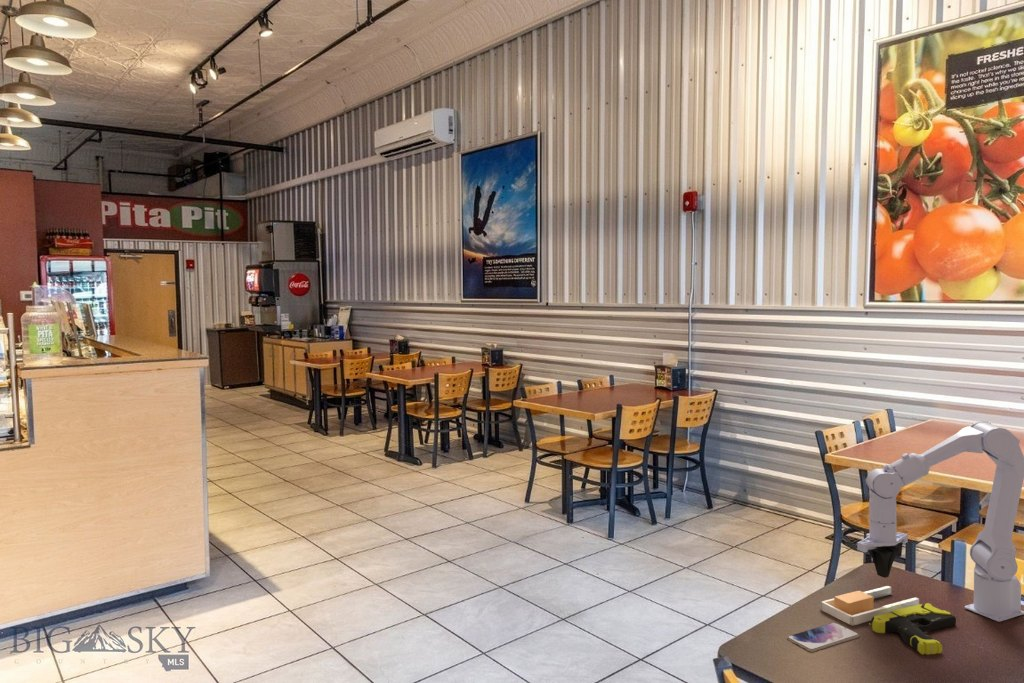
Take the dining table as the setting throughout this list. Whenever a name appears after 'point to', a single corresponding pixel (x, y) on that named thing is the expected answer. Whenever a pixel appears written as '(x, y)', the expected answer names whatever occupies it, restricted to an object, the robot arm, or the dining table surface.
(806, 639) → the smartphone
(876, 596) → the rail channel
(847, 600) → the tan wooden cube
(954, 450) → the robot arm
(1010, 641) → the dining table surface
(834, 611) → the tray
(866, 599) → the light orange cube
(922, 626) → the stun gun
